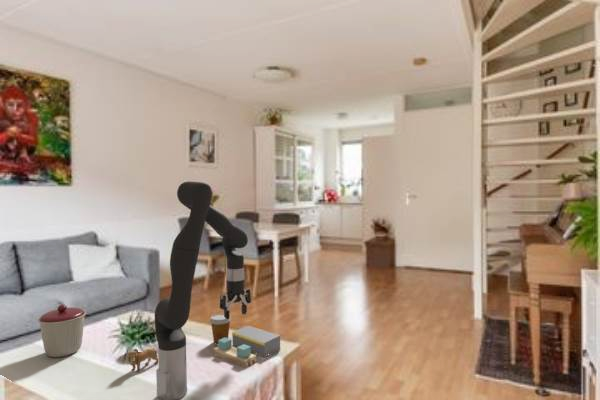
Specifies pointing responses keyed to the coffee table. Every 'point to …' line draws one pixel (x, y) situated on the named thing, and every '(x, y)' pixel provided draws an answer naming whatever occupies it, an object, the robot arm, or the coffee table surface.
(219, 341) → the block
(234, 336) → the block
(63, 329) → the canister
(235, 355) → the pallet
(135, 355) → the lion figurine
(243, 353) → the teal cube
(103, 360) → the coffee table surface
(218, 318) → the disposable coffee cup
